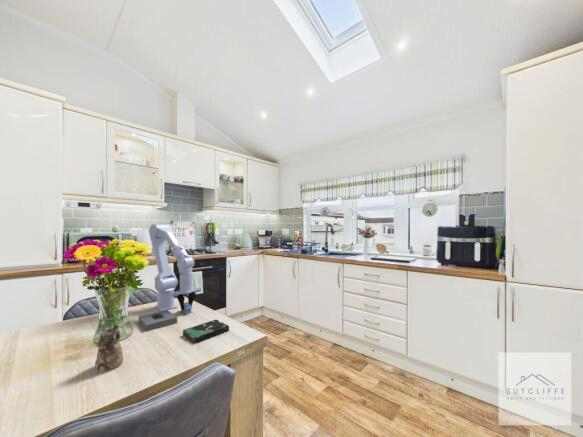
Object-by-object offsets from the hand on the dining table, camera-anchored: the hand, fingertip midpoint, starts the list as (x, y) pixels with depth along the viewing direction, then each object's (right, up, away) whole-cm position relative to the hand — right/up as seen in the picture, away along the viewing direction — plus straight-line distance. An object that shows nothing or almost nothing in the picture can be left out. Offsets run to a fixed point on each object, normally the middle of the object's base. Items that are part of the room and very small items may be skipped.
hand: (186, 308), depth 125 cm
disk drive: (+18, -2, -24) cm, 30 cm away
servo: (0, -2, 0) cm, 2 cm away
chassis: (-8, -2, -12) cm, 15 cm away
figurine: (-5, -1, -47) cm, 47 cm away
